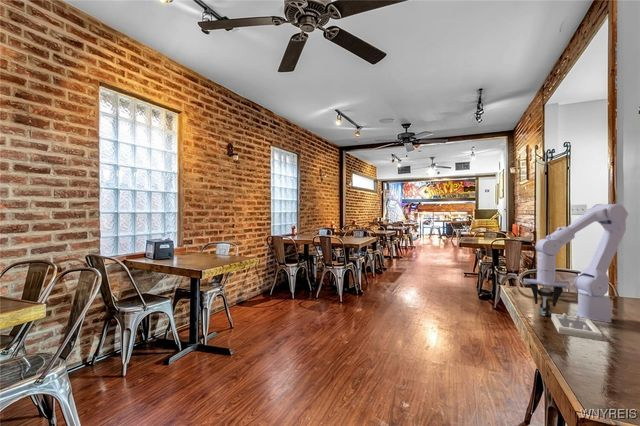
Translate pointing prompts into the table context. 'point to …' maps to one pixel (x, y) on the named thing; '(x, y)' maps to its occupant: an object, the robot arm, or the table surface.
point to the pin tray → (575, 326)
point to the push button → (545, 300)
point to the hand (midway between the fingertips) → (544, 304)
